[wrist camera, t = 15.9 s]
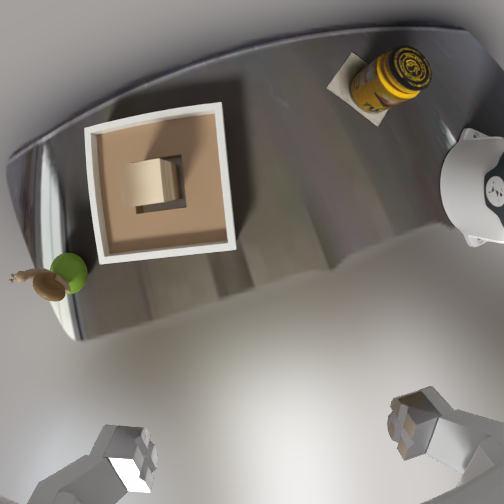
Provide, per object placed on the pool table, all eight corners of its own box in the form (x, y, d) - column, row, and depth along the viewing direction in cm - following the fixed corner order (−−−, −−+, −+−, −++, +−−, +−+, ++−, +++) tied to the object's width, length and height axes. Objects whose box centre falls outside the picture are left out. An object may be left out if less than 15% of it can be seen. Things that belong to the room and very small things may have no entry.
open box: (223, 113, 36) (221, 102, 30) (236, 240, 39) (236, 249, 33) (102, 134, 35) (84, 128, 30) (116, 254, 38) (99, 264, 33)
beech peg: (179, 165, 36) (159, 158, 26) (182, 198, 37) (163, 202, 27) (147, 170, 36) (118, 165, 26) (151, 202, 37) (123, 208, 27)
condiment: (377, 127, 37) (425, 109, 25) (326, 88, 35) (359, 54, 24) (399, 90, 36) (447, 65, 24) (351, 53, 34) (387, 14, 23)
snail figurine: (64, 238, 38) (13, 257, 26) (99, 261, 39) (54, 289, 27) (53, 270, 38) (4, 297, 27) (86, 293, 39) (43, 328, 28)
